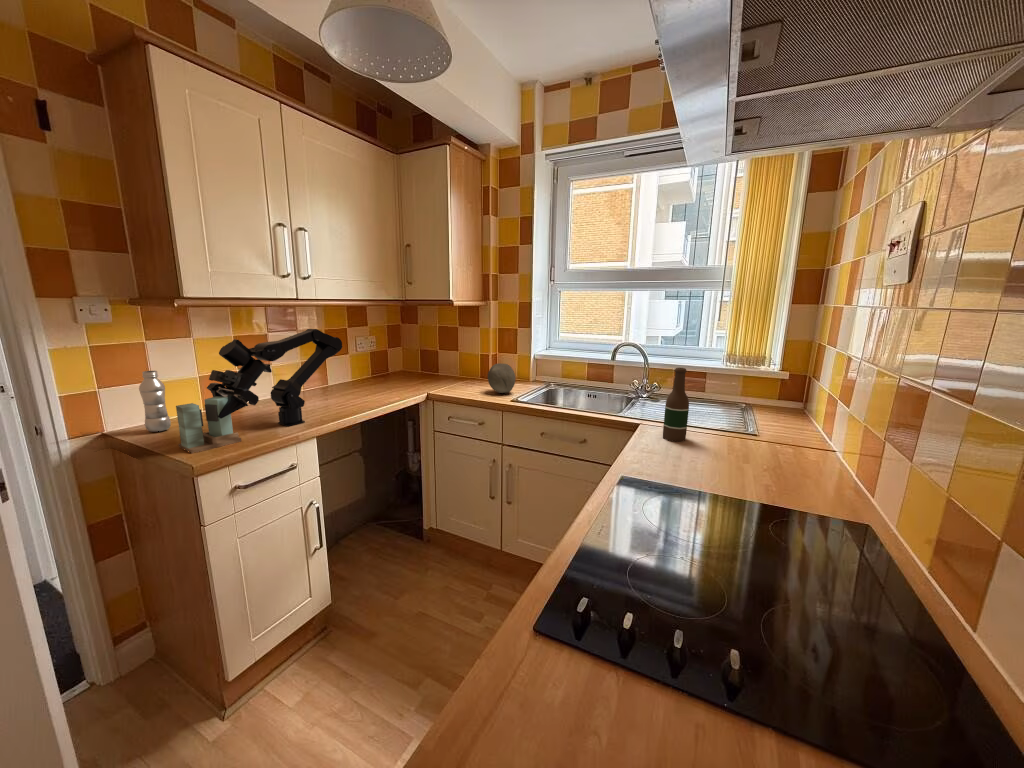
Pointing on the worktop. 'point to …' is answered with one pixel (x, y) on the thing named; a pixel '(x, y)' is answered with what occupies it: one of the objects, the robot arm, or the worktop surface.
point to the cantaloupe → (501, 378)
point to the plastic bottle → (154, 402)
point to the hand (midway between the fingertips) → (214, 416)
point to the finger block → (214, 422)
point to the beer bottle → (676, 410)
